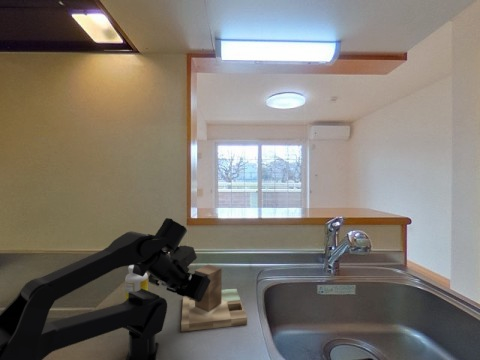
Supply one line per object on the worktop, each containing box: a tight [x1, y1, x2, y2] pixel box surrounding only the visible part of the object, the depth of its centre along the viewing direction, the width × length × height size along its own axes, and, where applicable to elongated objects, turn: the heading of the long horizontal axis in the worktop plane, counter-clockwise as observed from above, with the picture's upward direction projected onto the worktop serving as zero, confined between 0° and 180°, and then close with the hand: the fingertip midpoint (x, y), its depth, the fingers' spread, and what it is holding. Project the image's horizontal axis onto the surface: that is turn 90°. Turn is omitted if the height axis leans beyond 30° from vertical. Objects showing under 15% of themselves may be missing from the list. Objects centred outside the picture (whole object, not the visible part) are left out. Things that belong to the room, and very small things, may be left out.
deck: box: [180, 288, 248, 333], centre depth 78 cm, size 18×18×2 cm
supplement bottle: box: [124, 265, 149, 301], centre depth 81 cm, size 7×7×13 cm
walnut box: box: [194, 264, 223, 312], centre depth 78 cm, size 6×6×11 cm
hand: (193, 293), depth 72 cm, fingers closed
